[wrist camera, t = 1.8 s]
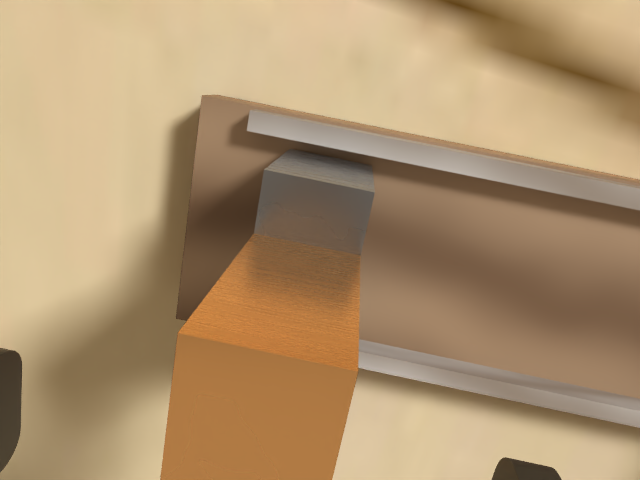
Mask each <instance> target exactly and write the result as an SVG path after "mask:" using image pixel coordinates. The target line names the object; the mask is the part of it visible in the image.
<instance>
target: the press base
mask: <svg viewBox="0 0 640 480" xmlns="http://www.w3.org/2000/svg"><path fill="white" fill-rule="evenodd" d="M289 149H294V150H299V151H304V152H309V153H314V154H319V155H324V156H329V157H334V158H339V159H344V160H348V161H353V162H358V163H363V164H368V165H372V170H373V179H374V188H375V194H374V198H373V203H372V207H371V212H370V216H369V221H368V225H367V229H366V234H365V238H364V243H363V247H362V251H361V259H360V309H359V359H358V368H361V369H366V370H371V371H375V372H380V373H385V374H390V375H394V376H399V377H404V378H408V379H413V380H418V381H422V382H427V383H432V384H436V385H441V386H446V387H451V388H455V389H460V390H465V391H469V392H474V393H479V394H483V395H488V396H493V397H497V398H502V399H507V400H511V401H516V402H521V403H526V404H530V405H535V406H540V407H544V408H549V409H554V410H558V411H563V412H568V413H572V414H577V415H582V416H587V417H591V418H596V419H601V420H605V421H610V422H615V423H619V424H624V425H629V426H633V427H638V428H640V180H638V179H633V178H628V177H623V176H618V175H613V174H608V173H603V172H598V171H593V170H588V169H583V168H578V167H573V166H568V165H563V164H558V163H553V162H548V161H543V160H538V159H534V158H529V157H524V156H519V155H514V154H509V153H504V152H499V151H494V150H489V149H484V148H479V147H474V146H469V145H464V144H459V143H454V142H449V141H444V140H439V139H434V138H429V137H424V136H419V135H414V134H409V133H404V132H399V131H394V130H389V129H384V128H379V127H374V126H369V125H365V124H360V123H355V122H350V121H345V120H340V119H335V118H330V117H325V116H320V115H315V114H310V113H305V112H300V111H295V110H290V109H285V108H280V107H275V106H270V105H265V104H260V103H255V102H250V101H245V100H240V99H235V98H230V97H225V96H220V95H202V99H201V108H200V116H199V125H198V134H197V142H196V151H195V159H194V168H193V177H192V185H191V194H190V202H189V211H188V220H187V228H186V237H185V246H184V254H183V263H182V271H181V280H180V289H179V297H178V306H177V314H176V319H181V320H186V321H187V320H188V319H189V318H190V316H191V315H192V314H193V312H194V311H195V310H196V308H197V307H198V306H199V305H200V303H201V302H202V301H203V299H204V298H205V297H206V295H207V294H208V293H209V291H210V290H211V289H212V288H213V286H214V285H215V284H216V282H217V281H218V280H219V278H220V277H221V276H222V274H223V273H224V272H225V271H226V269H227V268H228V267H229V265H230V264H231V263H232V261H233V260H234V259H235V257H236V256H237V255H238V254H239V252H240V251H241V250H242V248H243V247H244V246H245V244H246V243H247V242H248V240H249V239H250V238H251V237H252V235H253V234H254V230H255V223H256V217H257V211H258V204H259V198H260V192H261V185H262V179H263V173H264V169H265V168H267V167H268V166H269V165H270V164H272V163H273V162H274V161H275V160H277V159H278V158H279V157H280V156H282V155H283V154H284V153H285V152H287V151H288V150H289Z"/></svg>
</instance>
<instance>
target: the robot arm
mask: <svg viewBox="0 0 640 480" xmlns="http://www.w3.org/2000/svg"><path fill="white" fill-rule="evenodd" d="M21 388H22V361H21V357H20V355H19V354H18V353H17V352H16V351H12V350H7V349H3V348H0V472H1V471H2V470H3V469H4V467H5V466H6V465H7V463H8V462H9V460H10V458H11V457H12V455H13V453H14V451H15V448H16V446H17V443H18V440H19V436H20V429H21ZM492 480H561V478H560V476H559V474H558V473H557V471H556V470H555V469H553V468H552V467H548V466H543V465H538V464H534V463H529V462H524V461H520V460H515V459H510V458H506V457H505V458H502V459H501V460H500V461H499V463H498V465H497V467H496V469H495V472H494V475H493V478H492Z"/></svg>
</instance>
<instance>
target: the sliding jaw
mask: <svg viewBox="0 0 640 480" xmlns="http://www.w3.org/2000/svg"><path fill="white" fill-rule="evenodd" d="M374 194H375V188H374V179H373V170H372V165H368V164H363V163H358V162H353V161H348V160H344V159H339V158H334V157H329V156H324V155H319V154H314V153H309V152H304V151H299V150H294V149H289V150H288V151H287V152H285V153H284V154H283V155H282V156H280V157H279V158H278V159H277V160H275V161H274V162H273V163H272V164H270V165H269V166H268V167H267V168H265V169H264V173H263V179H262V185H261V192H260V198H259V204H258V211H257V217H256V223H255V230H254V234H253V235H252V237H251V238H250V239H249V240H248V242H247V243H246V244H245V246H244V247H243V248H242V250H241V251H240V252H239V254H238V255H237V256H236V257H235V259H234V260H233V261H232V263H231V264H230V265H229V267H228V268H227V269H226V271H225V272H224V273H223V274H222V276H221V277H220V278H219V280H218V281H217V282H216V284H215V285H214V286H213V288H212V289H211V290H210V291H209V293H208V294H207V295H206V297H205V298H204V299H203V301H202V302H201V303H200V305H199V306H198V307H197V308H196V310H195V311H194V312H193V314H192V315H191V316H190V318H189V319H188V320H187V322H186V323H185V324H184V325H183V327H182V328H181V329H180V331H179V332H178V335H177V343H176V352H175V360H174V369H173V377H172V386H171V394H170V403H169V411H168V419H167V428H166V436H165V445H164V453H163V462H162V470H161V479H160V480H332V478H333V473H334V469H335V465H336V461H337V457H338V453H339V449H340V445H341V440H342V436H343V432H344V428H345V424H346V420H347V416H348V412H349V407H350V403H351V399H352V395H353V391H354V387H355V383H356V379H357V375H358V359H359V309H360V259H361V251H362V247H363V243H364V238H365V234H366V229H367V225H368V221H369V216H370V212H371V207H372V203H373V198H374Z"/></svg>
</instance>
